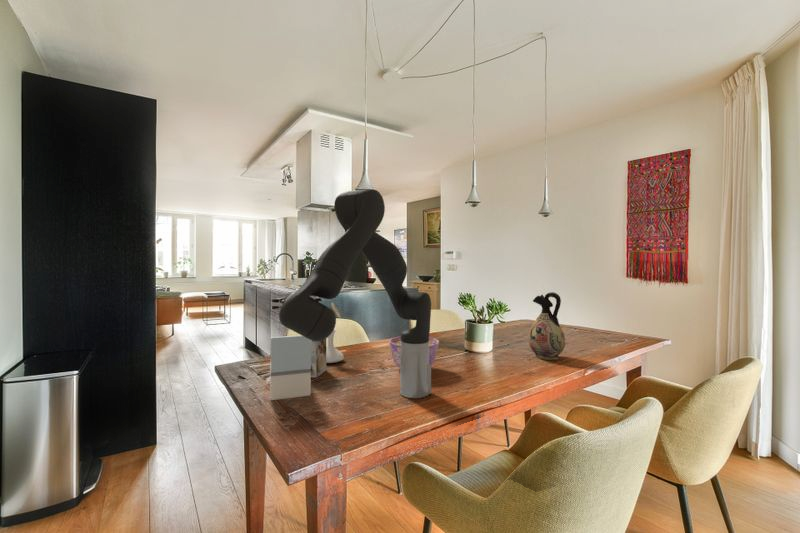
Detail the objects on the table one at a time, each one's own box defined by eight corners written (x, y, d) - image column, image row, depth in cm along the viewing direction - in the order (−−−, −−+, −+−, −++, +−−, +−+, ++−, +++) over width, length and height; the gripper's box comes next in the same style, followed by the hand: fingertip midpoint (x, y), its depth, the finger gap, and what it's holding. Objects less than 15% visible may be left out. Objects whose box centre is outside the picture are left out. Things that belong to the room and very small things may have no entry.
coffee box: (311, 369, 142) (311, 329, 142) (326, 370, 141) (327, 329, 141) (300, 376, 133) (300, 333, 133) (316, 377, 132) (317, 334, 132)
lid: (311, 334, 113) (311, 335, 112) (310, 367, 115) (310, 368, 114) (270, 337, 109) (270, 338, 108) (270, 371, 110) (270, 372, 110)
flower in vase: (341, 365, 148) (341, 305, 148) (313, 365, 148) (314, 304, 148) (346, 357, 161) (346, 301, 161) (321, 356, 161) (321, 301, 161)
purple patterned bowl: (385, 376, 134) (385, 345, 134) (392, 361, 154) (392, 334, 154) (438, 378, 132) (439, 347, 132) (439, 363, 152) (439, 336, 152)
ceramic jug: (521, 357, 163) (522, 291, 163) (537, 351, 174) (538, 289, 173) (559, 365, 151) (560, 294, 150) (574, 358, 161) (575, 292, 161)
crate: (306, 384, 125) (306, 358, 125) (310, 395, 115) (310, 367, 114) (270, 388, 121) (270, 361, 121) (270, 400, 110) (270, 371, 110)
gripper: (328, 290, 87) (318, 286, 103) (270, 291, 82) (269, 286, 98) (328, 321, 87) (318, 312, 103) (270, 324, 82) (269, 314, 98)
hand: (294, 299), depth 101 cm, fingers closed
